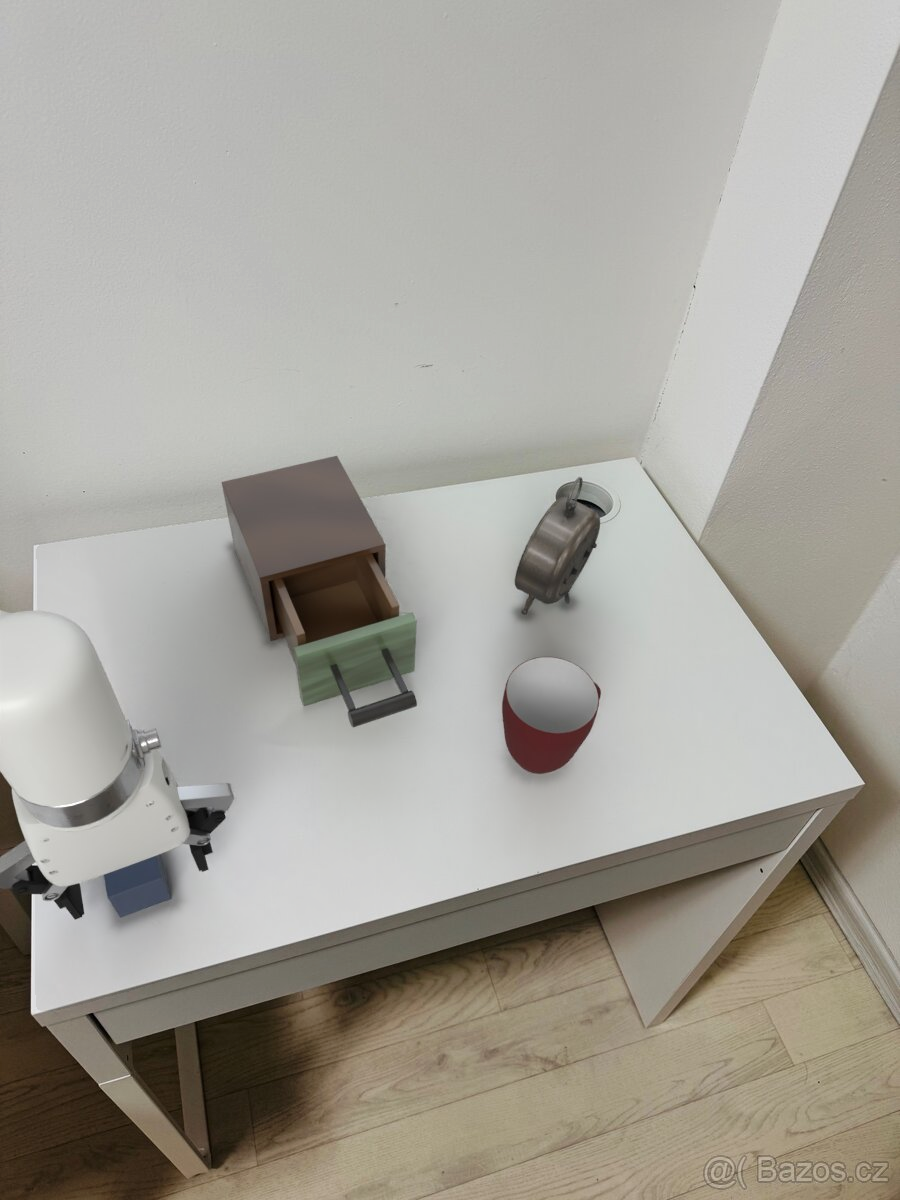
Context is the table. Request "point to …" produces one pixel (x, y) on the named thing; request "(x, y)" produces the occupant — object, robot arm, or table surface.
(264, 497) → the cabinet
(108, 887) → the block
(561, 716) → the mug
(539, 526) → the alarm clock
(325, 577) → the drawer
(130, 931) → the table surface
